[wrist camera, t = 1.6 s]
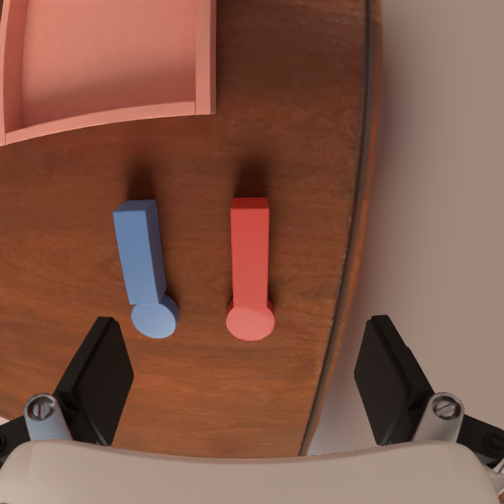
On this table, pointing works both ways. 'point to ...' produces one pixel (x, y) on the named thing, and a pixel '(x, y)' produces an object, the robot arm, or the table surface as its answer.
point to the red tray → (103, 63)
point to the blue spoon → (144, 268)
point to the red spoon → (250, 270)
